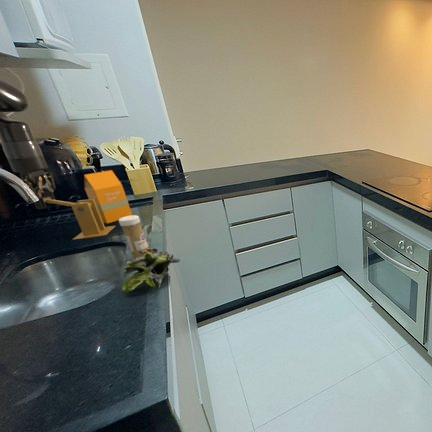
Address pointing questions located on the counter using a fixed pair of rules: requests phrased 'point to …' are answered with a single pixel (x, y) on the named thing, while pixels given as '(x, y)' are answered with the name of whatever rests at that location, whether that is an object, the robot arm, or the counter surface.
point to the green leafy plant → (147, 268)
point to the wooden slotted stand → (89, 219)
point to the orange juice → (107, 195)
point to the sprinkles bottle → (134, 235)
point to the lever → (50, 200)
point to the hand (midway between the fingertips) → (47, 205)
